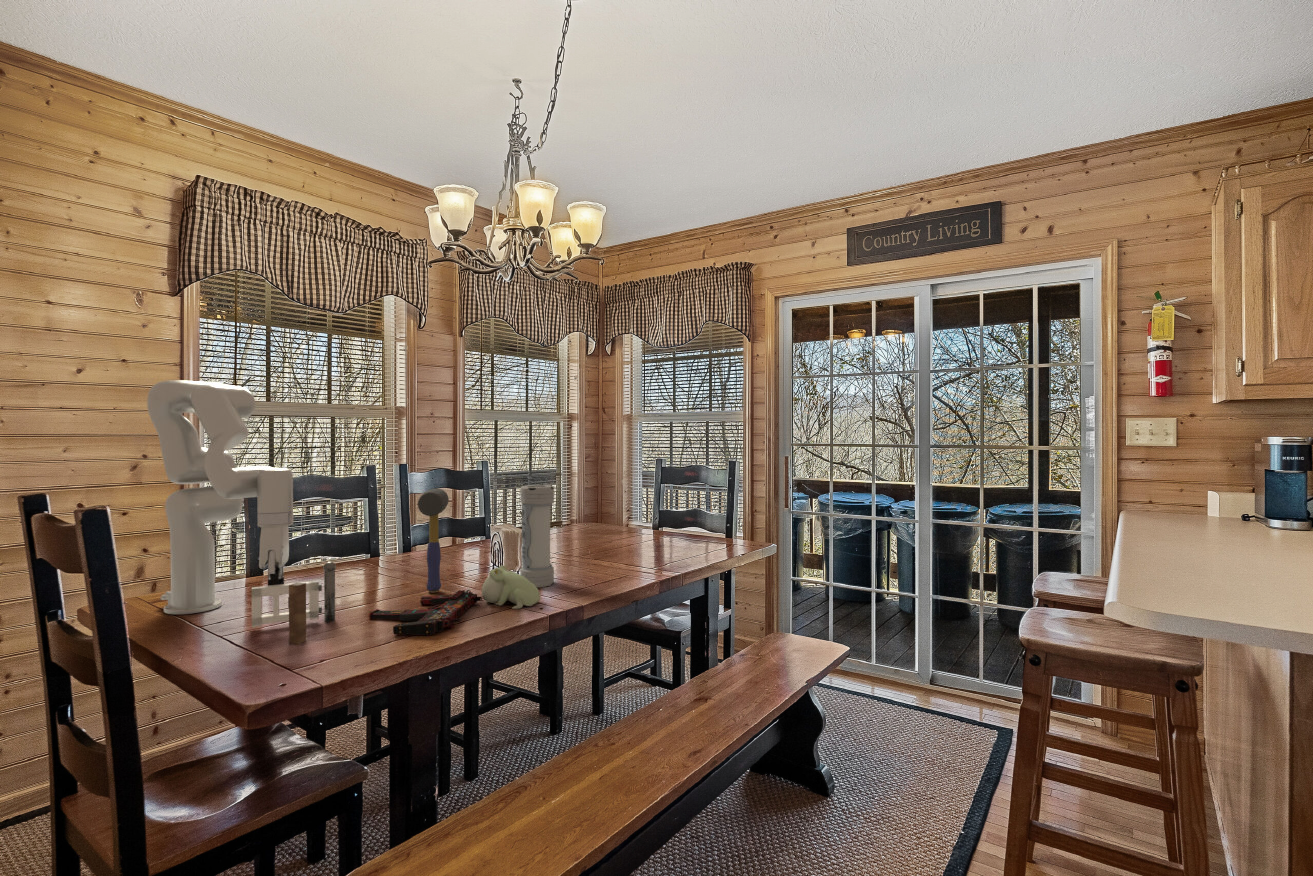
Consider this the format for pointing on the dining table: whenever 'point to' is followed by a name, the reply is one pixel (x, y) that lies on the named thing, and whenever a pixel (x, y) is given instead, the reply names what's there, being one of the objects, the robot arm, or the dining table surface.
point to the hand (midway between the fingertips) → (276, 594)
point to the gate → (275, 591)
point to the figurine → (509, 588)
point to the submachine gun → (430, 614)
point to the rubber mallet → (433, 533)
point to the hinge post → (329, 591)
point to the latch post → (297, 613)
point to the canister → (536, 534)
